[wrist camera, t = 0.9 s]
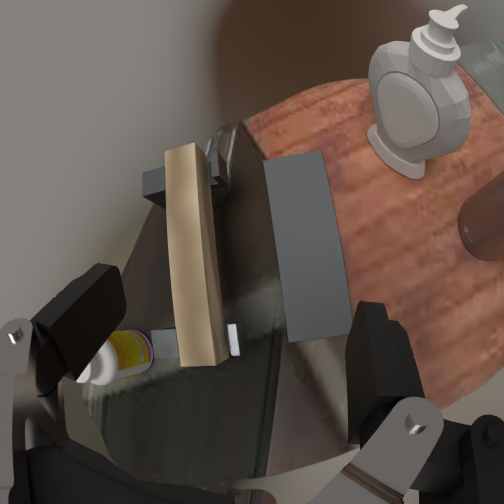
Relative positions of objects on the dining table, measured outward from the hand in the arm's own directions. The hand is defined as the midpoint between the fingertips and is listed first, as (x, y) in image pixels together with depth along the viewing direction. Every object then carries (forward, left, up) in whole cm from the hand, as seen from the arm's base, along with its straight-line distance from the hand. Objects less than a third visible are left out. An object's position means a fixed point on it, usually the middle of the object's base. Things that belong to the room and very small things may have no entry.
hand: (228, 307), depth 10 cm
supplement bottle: (+24, +5, -29) cm, 38 cm away
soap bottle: (-18, -18, -29) cm, 38 cm away
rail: (+9, -6, -20) cm, 23 cm away
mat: (-2, -7, -29) cm, 29 cm away
